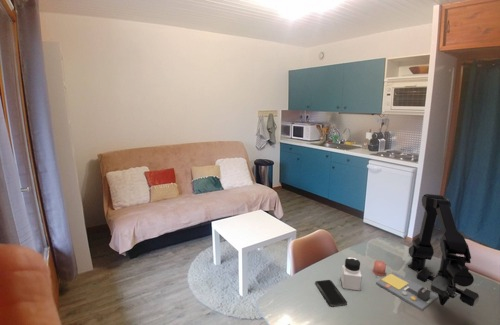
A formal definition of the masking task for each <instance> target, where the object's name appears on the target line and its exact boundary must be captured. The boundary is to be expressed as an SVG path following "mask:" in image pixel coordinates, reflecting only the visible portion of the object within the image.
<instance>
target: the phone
mask: <svg viewBox="0 0 500 325" xmlns="http://www.w3.org/2000/svg"><path fill="white" fill-rule="evenodd" d="M314 285H315V287H316V288H317V290H318V291H319V293H320V294H321V296H322V297H323V299H324V300H325V302H326V303H327V305H328V307H330V308H334V307H335V308H336V307H343V306H347V305H348V301H347V300H346V298H345V297H344V295H342V293H341V291H340V290H339V289H338V287H337V286H336V285H335V283H334V282H333V281H332V280H331V279H324V280H317V281H315V283H314Z"/></svg>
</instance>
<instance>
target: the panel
mask: <svg viewBox="0 0 500 325" xmlns="http://www.w3.org/2000/svg"><path fill="white" fill-rule="evenodd" d="M375 284H376V285H377V286H378V287H380V288H382V289H384V290H385V291H387V292H389V293H391V294H392V295H393V296H396V297H397V298H399V299H401V300H402V301H404V302H406V303H408V304H409V305H410V306H413V307H414V308H416V309H417V310H419V311H421V312H422V311H424V310H425V309H426V308H428V307H429V306H430V304H432V303H433V302H435V301H436V299H439V296H438V293H436V292H433V291H431V292H430V298H429V299H427V300H426V301H424V300H422V299H421V298H419V297H417V296H418V290H420V289H421V288H422V287H423V288H425V287H424V286H422V285H420V284H418V283H416V282H414V281H412V280H410V279H408V278H407V277H405V276H403V275H400V274H398V273H397V272H394V271H392V272H390V273H388V274H387V275H385V276H383V277H382V278H380V279H379V280H377V281H376V282H375Z"/></svg>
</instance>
